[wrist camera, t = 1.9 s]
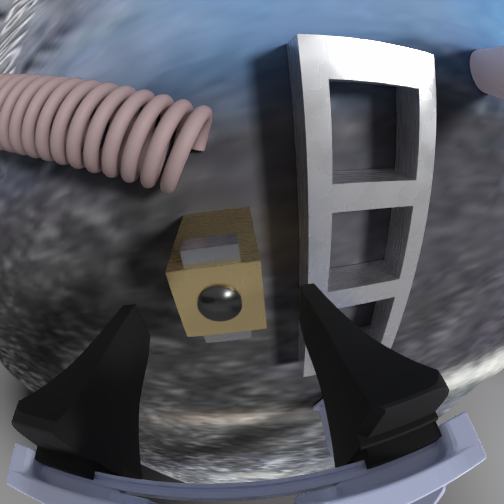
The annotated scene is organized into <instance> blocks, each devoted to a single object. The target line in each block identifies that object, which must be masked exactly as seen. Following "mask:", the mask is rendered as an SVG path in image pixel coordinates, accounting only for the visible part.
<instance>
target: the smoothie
mask: <svg viewBox="0 0 504 504" xmlns="http://www.w3.org/2000/svg"><path fill="white" fill-rule="evenodd" d="M470 71H471V75H472V78H473V80H474V82H475V84H476V86H477V87H478V88H479V89H480V90H481V91H482V92H484V93H486V94H489V95H492V96H495V97H497V98H500V99H502V100H504V46H500V47H492V48H484V49H478V50H474V51H473V52H472V54H471V56H470Z"/></svg>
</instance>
